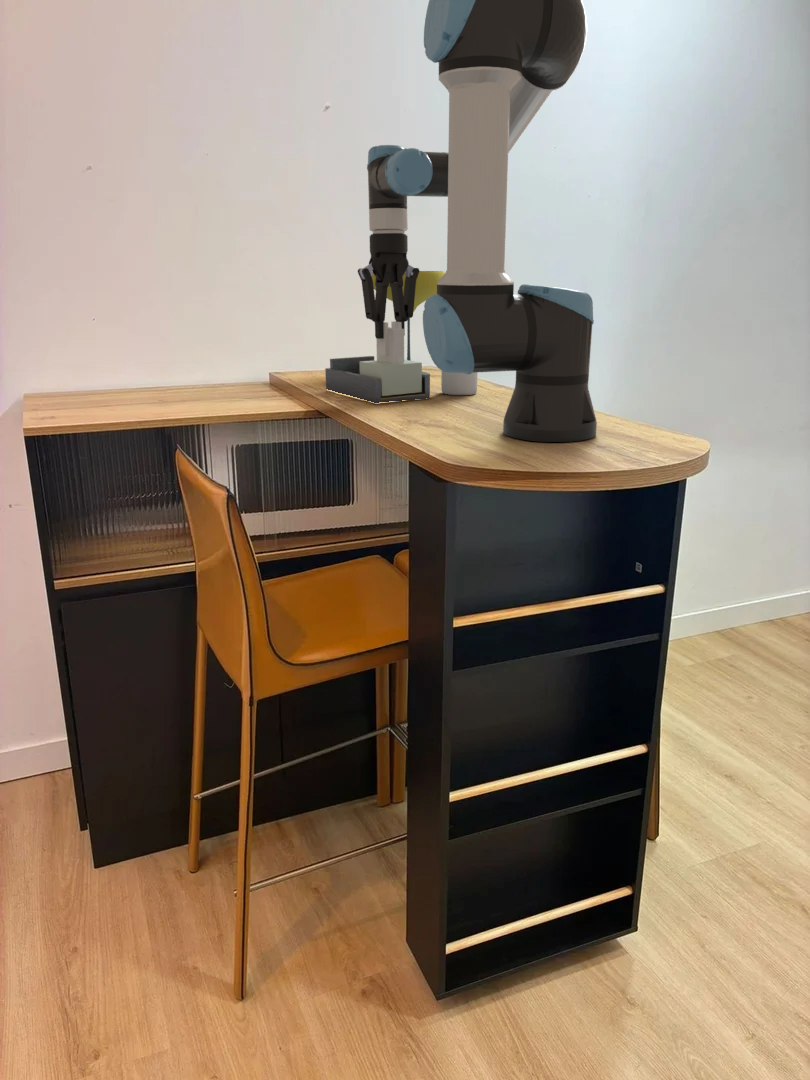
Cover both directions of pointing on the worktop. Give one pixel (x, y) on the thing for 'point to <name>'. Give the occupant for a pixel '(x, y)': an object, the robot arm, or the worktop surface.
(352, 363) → the bay
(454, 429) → the worktop surface
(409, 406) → the worktop surface
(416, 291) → the cocktail glass
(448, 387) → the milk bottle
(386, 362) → the block with upright handle
